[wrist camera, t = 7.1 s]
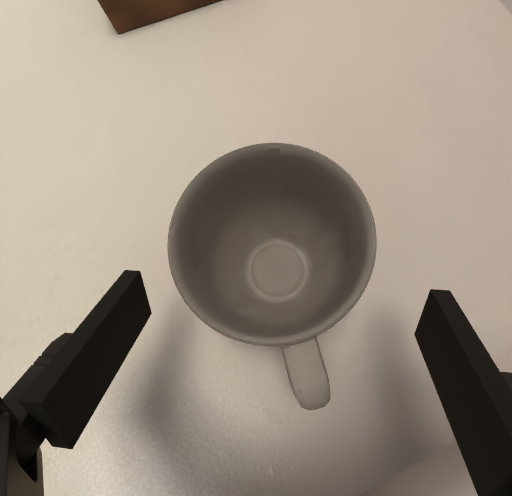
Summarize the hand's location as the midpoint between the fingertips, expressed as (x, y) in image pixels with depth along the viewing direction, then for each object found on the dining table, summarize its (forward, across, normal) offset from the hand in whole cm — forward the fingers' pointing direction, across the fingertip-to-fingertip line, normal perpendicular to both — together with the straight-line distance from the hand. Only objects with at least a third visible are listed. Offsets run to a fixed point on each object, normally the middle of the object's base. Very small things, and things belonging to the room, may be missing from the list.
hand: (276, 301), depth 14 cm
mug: (+6, 0, -4) cm, 8 cm away
